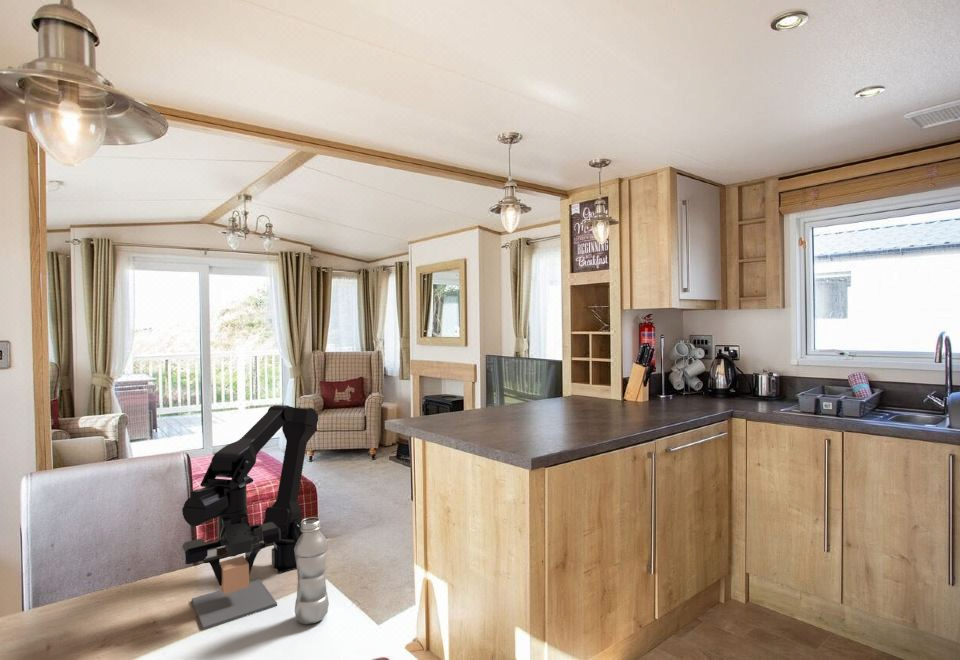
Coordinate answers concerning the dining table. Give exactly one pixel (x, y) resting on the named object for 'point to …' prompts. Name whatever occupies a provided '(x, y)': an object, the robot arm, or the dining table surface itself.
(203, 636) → the dining table surface
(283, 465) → the robot arm
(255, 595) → the charcoal mat
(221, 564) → the peach block
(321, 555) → the plastic bottle
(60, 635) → the dining table surface
